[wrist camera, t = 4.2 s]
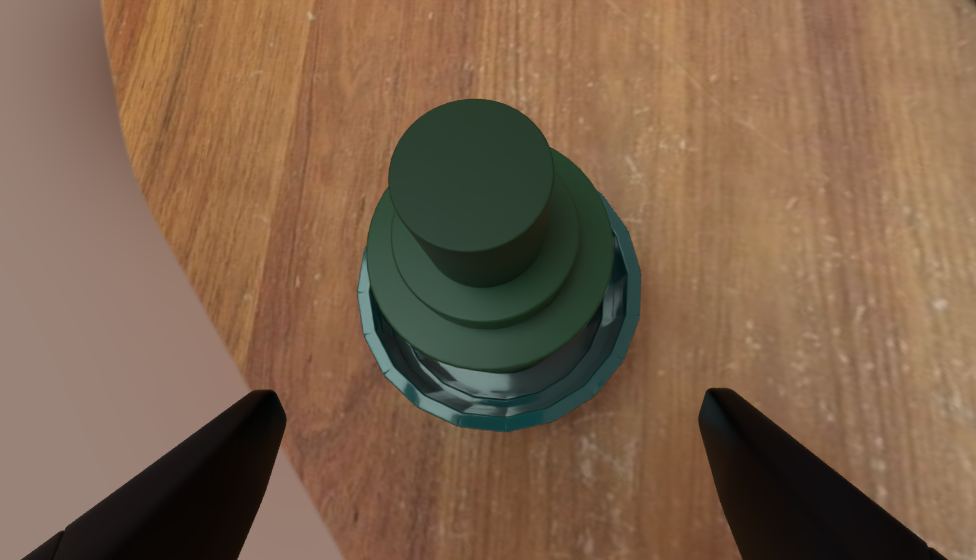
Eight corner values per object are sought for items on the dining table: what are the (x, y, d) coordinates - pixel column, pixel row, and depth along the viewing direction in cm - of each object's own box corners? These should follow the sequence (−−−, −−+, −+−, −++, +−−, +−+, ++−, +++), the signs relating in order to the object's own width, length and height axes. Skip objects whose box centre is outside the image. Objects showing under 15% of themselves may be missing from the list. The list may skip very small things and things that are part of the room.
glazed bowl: (606, 429, 19) (637, 447, 14) (380, 404, 20) (336, 413, 15) (615, 210, 21) (644, 161, 16) (411, 197, 22) (380, 146, 17)
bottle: (567, 380, 19) (666, 389, 6) (424, 366, 19) (246, 346, 7) (575, 241, 20) (669, 15, 8) (441, 231, 21) (320, 6, 8)
